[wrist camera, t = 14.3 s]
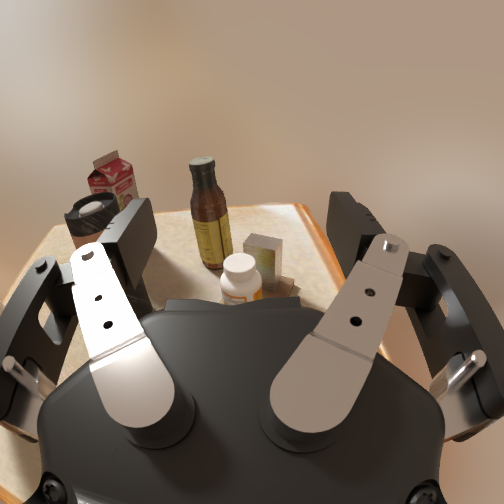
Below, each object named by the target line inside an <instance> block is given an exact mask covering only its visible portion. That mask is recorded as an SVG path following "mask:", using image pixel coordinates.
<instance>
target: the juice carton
mask: <svg viewBox="0 0 504 504" xmlns="http://www.w3.org/2000/svg"><path fill="white" fill-rule="evenodd" d="M93 164H94V168H95V170H94V171H93V172H92V173H91V174H90V175H89V177H88V183H89V187H90V190H91V194H92V195H93V194H96V193H101V192H112V193H114V194H115V195H116V198H117V201H118V205H119V208H120V212H122V211H123V210H124V209H125V208H126V207H127V205H128V204H129V203H130V202H131V200H132V199H139V196H138V191H137V187H136V182H135V177H134V173H133V168H132V165H131V164H130V163H128V162H126V161H125V160H122V159H121V158H119V155H118V151H113V152H111V153H110V154H107V155H105V156H103V157H101V158H99V159H97V160H95V161H93Z"/></svg>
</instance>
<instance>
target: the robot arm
mask: <svg viewBox="0 0 504 504" xmlns="http://www.w3.org/2000/svg"><path fill="white" fill-rule="evenodd" d="M326 229H327V236H328V238H329V241H330V243H331V245H332V247H333V250H334V252H335V254H336V257H337V259H338V262H339V264H340V266H341V269H342V271H343V274H344V276H345V279H346V281H345V283H344V284H343V286H342V288H341V289H340V291H339V292H338V294H337V296H336V297H335V299H334V300H333V302H332V303H331V305H330V307H329V308H328V310H327V311H326V313H323V312H321V311H318V310H315V309H312V308H308V307H303V306H301V304H300V299H299V297H277V298H264V299H259V300H255V301H251V302H246V303H242V304H237V305H225V304H220V303H214V302H209V301H204V300H199V299H167V302H166V306H165V309H162V310H158V311H155V312H152V313H150V314H147V315H145V316H143V317H142V318H140V319H138V320H137V318H136V316H135V314H134V312H133V310H132V308H131V306H130V304H129V302H128V300H127V298H126V296H125V294H124V291H135V289H136V287H137V284H138V282H139V279H140V277H141V275H142V272H143V270H144V267H145V265H146V263H147V260H148V258H149V256H150V254H151V251H152V249H153V247H154V245H155V243H156V240H157V228H156V224H155V219H154V215H153V210H152V206H151V202H150V200H149V198H141V199H132V200H131V202H130V203H129V204H128V205H127V207H126V208H125V209H124V210H123V211H122V212H120V213H119V214H117V215H116V216H115V217H114V218H113V219H112V221H111V222H110V224H109V225H108V226H107V227H106V229H105V230H104V232H103V233H102V234H101V236H100V237H99V238H98V240H97V241H96V243H90V244H87V245H85V246H83V247H81V248H79V249H78V250H77V251H76V252H75V253H74V254H73V256H72V258H71V262H68V263H65V264H61V265H58V263H57V261H56V259H55V257H54V256H51V255H49V256H45V257H42V258H40V259H39V260H37V261H36V262H35V263H34V264H33V265H32V266H31V267H30V269H29V270H28V272H27V273H26V275H25V276H24V278H23V279H22V281H21V282H20V284H19V285H18V287H17V288H16V290H15V292H14V293H13V295H12V297H11V298H10V300H9V302H8V303H7V305H6V307H5V306H4V305H3V303H2V301H1V300H0V425H1V426H3V427H4V428H6V429H7V430H9V431H10V432H12V433H14V434H16V435H18V436H20V437H22V438H23V439H25V440H27V441H29V442H31V443H36V442H39V445H40V452H41V462H42V476H41V481H40V484H39V487H38V488H37V490H36V491H35V492H34V494H33V495H32V496H31V497H30V498H29V499H28V500H27V501H26V502H24V503H23V504H447V502H446V501H445V499H444V497H443V495H442V492H441V489H440V486H439V467H440V458H441V452H442V447H443V443H445V442H448V441H450V440H453V441H456V442H463V441H465V440H467V439H469V438H471V437H472V436H474V435H476V434H477V433H479V432H480V431H482V430H483V429H485V428H487V427H488V426H490V425H491V424H493V423H494V422H496V421H497V420H499V419H500V418H501V417H503V416H504V330H503V328H502V326H501V324H500V322H499V320H498V319H497V317H496V315H495V313H494V312H493V310H492V308H491V306H490V305H489V303H488V301H487V300H486V298H485V297H484V295H483V293H482V292H481V290H480V289H479V287H478V286H477V284H476V283H475V281H474V279H473V278H472V277H471V275H470V274H469V272H468V271H467V270H466V268H465V267H464V265H463V264H462V262H461V261H460V260H459V258H458V257H457V256H456V254H455V253H454V252H453V251H451V250H450V249H448V248H447V247H445V246H442V245H438V244H433V245H430V246H429V247H428V250H427V252H426V255H424V254H420V253H415V252H410V251H409V246H408V245H407V243H406V242H405V241H404V240H402V239H401V238H399V237H397V236H395V235H391V234H387V233H386V232H385V231H384V229H383V228H382V226H381V225H380V224H379V222H378V221H376V218H375V217H374V216H372V213H371V212H370V211H369V209H368V208H366V207H365V206H364V205H362V204H360V203H357V202H356V201H355V200H354V199H353V197H352V196H351V195H350V193H349V192H331V194H330V200H329V209H328V215H327V224H326ZM442 296H443V298H444V299H445V301H446V303H447V306H448V314H447V317H445V315H444V313H443V311H442V309H441V307H440V305H439V304H438V303H439V301H440V300H441V297H442ZM44 301H45V303H46V304H47V306H48V307H49V309H50V310H51V313H50V315H49V317H48V319H47V321H46V323H45V326H44V328H42V327H41V325H40V323H39V320H38V314H39V311H40V309H41V307H42V305H43V303H44ZM394 305H397V306H403V307H406V310H407V313H408V315H409V317H410V320H411V322H412V325H413V327H414V330H415V332H416V335H417V337H418V340H419V343H420V345H421V348H422V351H423V353H424V356H425V359H426V362H427V365H428V368H429V371H430V374H431V377H432V381H431V383H430V389H429V392H430V393H429V392H428V391H427V390H426V389H424V388H423V387H422V386H421V385H419V384H418V383H417V382H415V381H414V380H413V379H411V378H410V377H409V376H408V375H406V374H405V373H404V372H402V371H401V370H400V369H398V368H397V367H396V366H395V365H393V364H392V363H391V362H389V361H388V360H387V359H386V358H384V357H383V356H382V355H380V354H379V353H378V352H377V350H378V348H379V345H380V343H381V340H382V338H383V335H384V333H385V330H386V327H387V325H388V322H389V319H390V316H391V314H392V311H393V308H394ZM78 322H80V325H81V329H82V333H83V336H84V340H85V343H86V347H87V350H88V353H89V356H90V360H88V361H87V362H86V363H85V364H84V365H82V366H81V367H80V368H79V369H78V370H77V371H75V372H74V373H73V374H72V375H71V376H69V377H68V378H67V379H66V380H65V381H64V382H63V383H61V384H60V385H59V386H58V387H57V388H56V386H57V382H58V379H59V376H60V372H61V369H62V366H63V363H64V360H65V357H66V354H67V351H68V348H69V346H70V343H71V340H72V337H73V335H74V332H75V330H76V327H77V325H78Z"/></svg>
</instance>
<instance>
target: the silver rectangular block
mask: <svg viewBox="0 0 504 504" xmlns="http://www.w3.org/2000/svg"><path fill="white" fill-rule="evenodd" d="M243 251H244V253H246V254H249V255H251V256H252V257H254V259H255V261H256V270H257V271H258V272H259V273H260V275H261V278H262V289H265V290H269V291H273V292H275V291H276V289H277V287H278V285H279V283H280V281H281V268H282V239H277V238H272V237H268V236H263V235H258V234H253V233H251V234H250V236H249V237H248V238H247V239H246V240H245V242H244V243H243Z"/></svg>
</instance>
